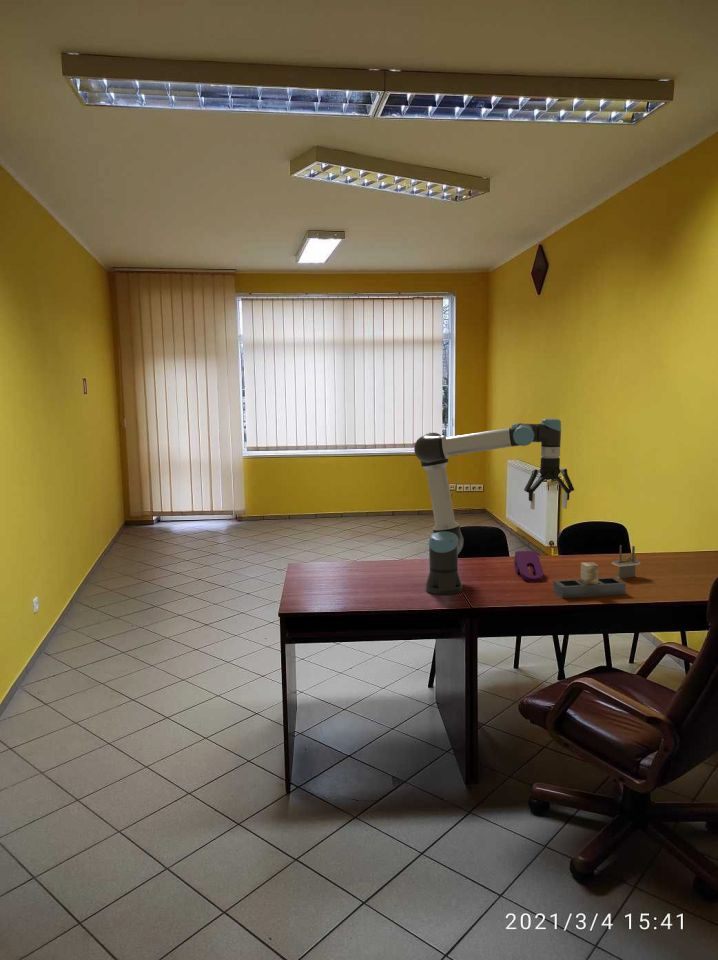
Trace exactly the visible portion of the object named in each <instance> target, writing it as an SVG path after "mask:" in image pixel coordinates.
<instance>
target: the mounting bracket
mask: <svg viewBox="0 0 718 960" xmlns="http://www.w3.org/2000/svg"><path fill="white" fill-rule="evenodd" d="M513 562H514V563H513V565H514V566H513V567H514V572H515V573H516V574H517V573H520V576H521V578H522V579H523V580H525V581H526V582H531V581H536V582H540V581H541V580H542V579H543V577H544V569H543V566H542V563H541V561H540V558H539V554H538V552H537V550H522V551H520V550H519V551H518V550H517V551H515V552H514V561H513ZM528 567H529V569H528ZM529 570H530V572H531V574H534V575H531V574H530V572H529Z"/></svg>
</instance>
